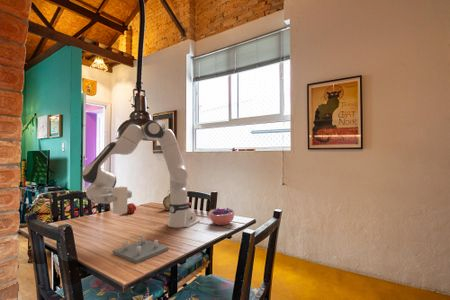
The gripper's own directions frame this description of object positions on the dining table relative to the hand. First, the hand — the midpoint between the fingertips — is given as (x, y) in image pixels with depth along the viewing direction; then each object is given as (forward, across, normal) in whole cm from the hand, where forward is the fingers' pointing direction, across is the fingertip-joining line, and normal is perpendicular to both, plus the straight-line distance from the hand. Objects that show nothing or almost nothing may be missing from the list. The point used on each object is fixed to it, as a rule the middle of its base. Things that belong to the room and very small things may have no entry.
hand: (121, 198), depth 129 cm
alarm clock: (-36, +67, +24) cm, 80 cm away
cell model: (+21, +60, +24) cm, 68 cm away
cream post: (-1, 0, +8) cm, 8 cm away
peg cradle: (+16, 0, +24) cm, 29 cm away
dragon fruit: (-53, +42, +24) cm, 71 cm away
